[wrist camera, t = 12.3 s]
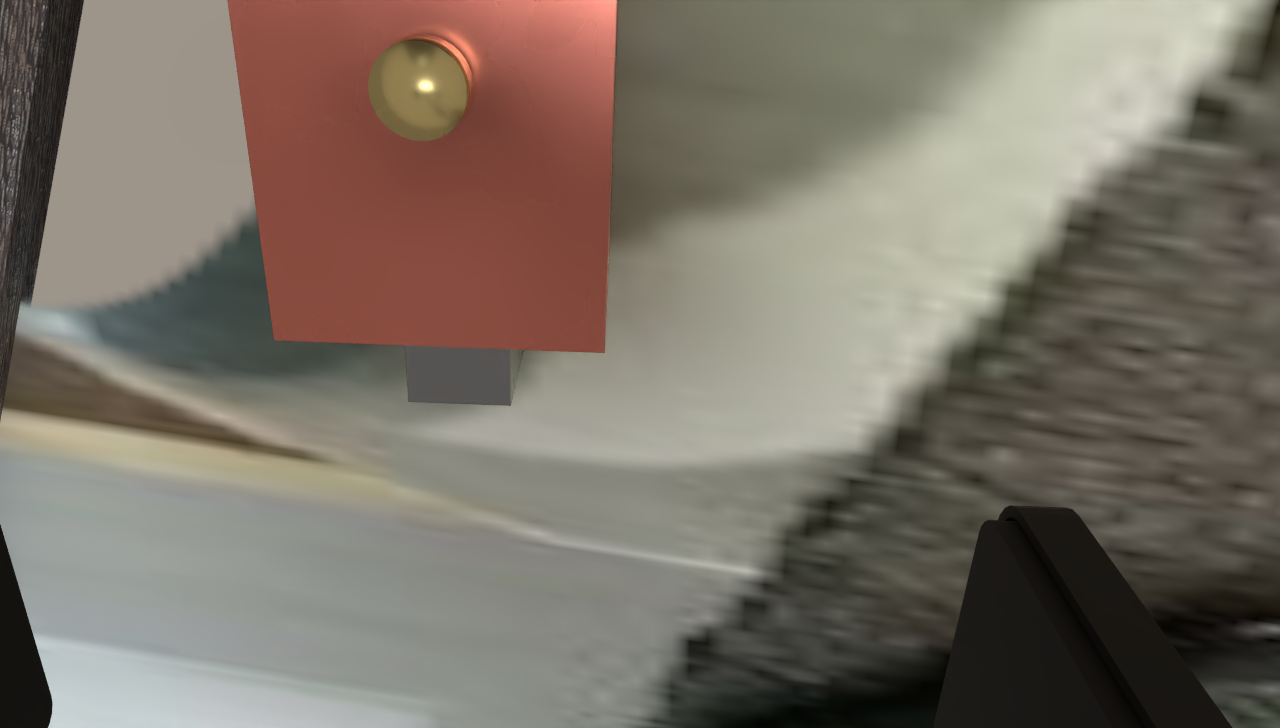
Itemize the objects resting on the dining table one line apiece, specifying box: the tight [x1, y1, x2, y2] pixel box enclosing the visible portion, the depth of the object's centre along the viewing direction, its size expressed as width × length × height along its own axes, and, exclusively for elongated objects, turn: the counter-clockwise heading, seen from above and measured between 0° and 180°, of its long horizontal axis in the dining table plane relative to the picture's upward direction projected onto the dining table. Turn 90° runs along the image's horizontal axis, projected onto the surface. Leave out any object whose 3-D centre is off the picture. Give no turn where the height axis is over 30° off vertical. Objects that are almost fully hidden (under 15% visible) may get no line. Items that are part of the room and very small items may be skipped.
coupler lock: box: [228, 0, 618, 353], centre depth 19 cm, size 7×6×7 cm
